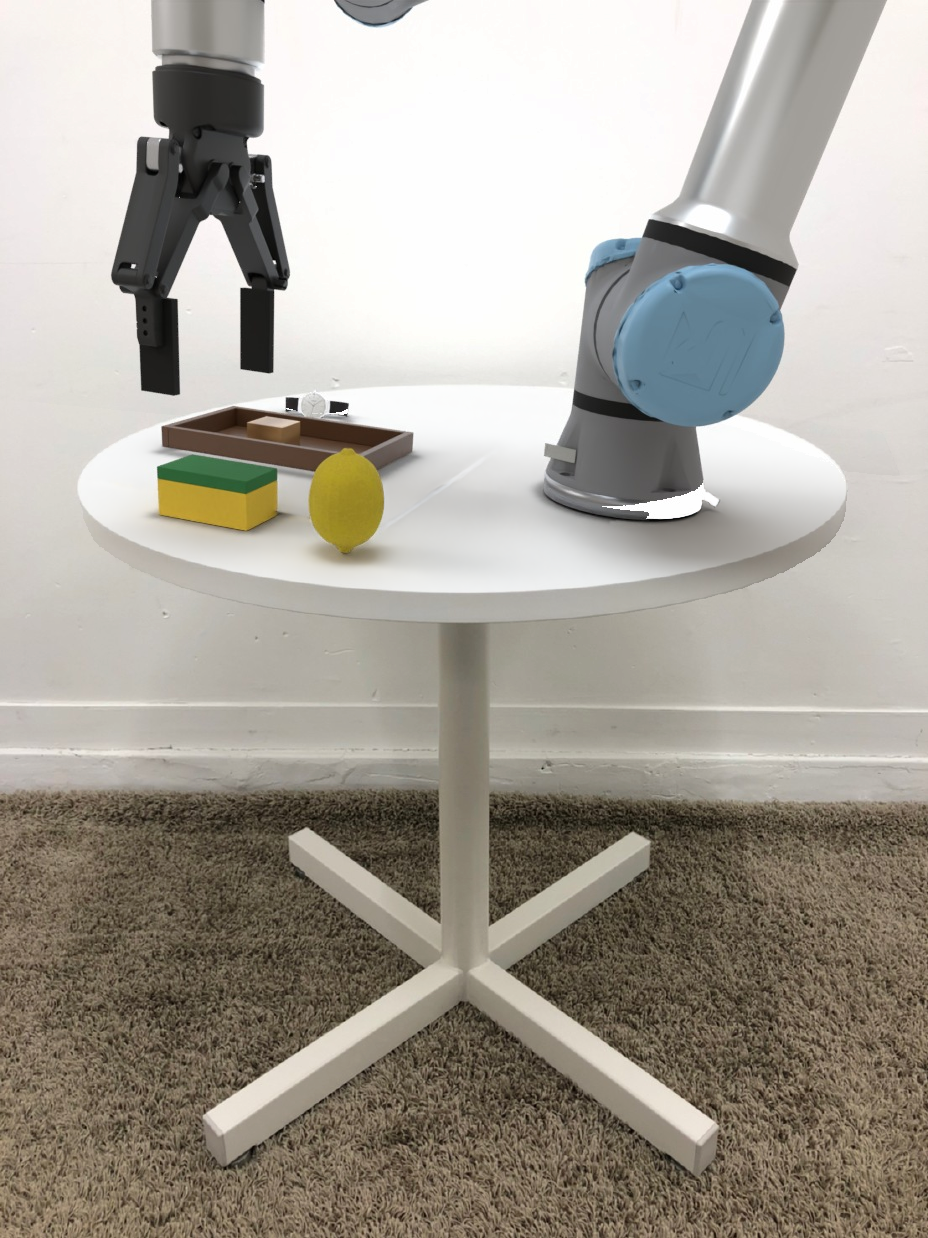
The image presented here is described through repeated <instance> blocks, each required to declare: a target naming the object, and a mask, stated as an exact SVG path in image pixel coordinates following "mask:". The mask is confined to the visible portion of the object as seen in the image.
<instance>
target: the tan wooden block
mask: <svg viewBox="0 0 928 1238" xmlns="http://www.w3.org/2000/svg"><path fill="white" fill-rule="evenodd" d="M247 438H252V439H259V440H265V441H271V442H278V443H284V444H290V445H297V446H298V445H300V421H295V420H288V419H281V418H274V417H268V416H266V417H263V418H260V419H257V420H253V421H250V422H247Z"/></svg>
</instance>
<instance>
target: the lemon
mask: <svg viewBox="0 0 928 1238" xmlns="http://www.w3.org/2000/svg"><path fill="white" fill-rule="evenodd" d="M308 492H309V493H308V512H309V517H310V521H311V523H312V527H314V529H315V531H316V533H317V534H318V535H319V537H321V538H322V539H323V540H324V541H326V542H327V543H329V544H331V545H333V546H335V547H336V548H337V549H338V550H339V552H341V553H343V554H348V553H350V552H351V551H352V550H353V549H354V548H356V547H357V546H359V545H362V544H364V543H366V542H368V541H369V540H370V539H371V538H372V537H373V536H375V534H376V533H377V530H378V529H379V526H380V524H381V522H382V519H383V515H384V510H385V492H384V487H383V482H382V478H381V476H380V474H379V471H378V470H376V468H375V467H374V465H373V464H372V463H371V462H370V461H369V460H367V459H366V458H365V457H363V456H361V455H359V454H357V453H355V451H354V450H353V449H351V448H344V449H343V450H342V451H341V452H340V453H336V454H334V455H331V456H330V457H328V458H327V459H325V460H324V461H323V462H322V463H321V464H320V465H319V466H318V468H317V469H316V471H315V472H313V476H312V479H311V482H310V487H309V491H308Z"/></svg>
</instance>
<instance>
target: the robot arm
mask: <svg viewBox="0 0 928 1238" xmlns="http://www.w3.org/2000/svg"><path fill="white" fill-rule="evenodd" d="M333 1H334V3H335V5H336V7H337V8H338V9H340V10H341V11H342V13H343V14H344V15H345V16H347V17H348V18H350V19H351V20H353V21H354V22H356V23H358V24H359V25H361V26H365V27H368V28H375V29H378V28H379V29H380V28H386V27H389V26H392V25H394V24H396V23H397V22H399V21H400V20H402V19H403V18H404V17H405V16H406V15H407V14H409V13H410V12H411V11H412V9H413V8H414V7H416V6H418V5H420V4H423V3H425V2H428V1H429V0H333ZM887 2H888V0H751V1H750V4H749V7H748V10H747V12H746V14H745V16H744V20H743V23H742V26H741V28H740V31H739V33H738V36H737V39H736V42H735V44H734V47H733V49H732V52H731V55H730V58H729V61H728V63H727V65H726V68H725V71H724V74H723V77H722V79H721V82H720V85H719V88H718V90H717V93H716V95H715V98H714V101H713V103H712V106H711V109H710V112H709V114H708V117H707V120H706V122H705V125H704V128H703V131H702V133H701V136H700V139H699V141H698V144H697V147H696V149H695V152H694V155H693V157H692V160H691V162H690V165H689V168H688V170H687V173H686V176H685V178H684V181H683V184H682V187H681V189H680V192H679V195H678V197H677V198H676V199H674V201H673V202H671V203H669V204H667V205H666V206H664V207H662V208H660V209H659V210H657V211H655V212H654V213H651V214H650V215H649V217H648V219H647V223H646V225H645V228H644V231H643V233H642V236H641V237H631V238H621V237H619V238H612V239H607V240H605V241H601V242H600V243H598V244H597V245H596V246H595V247H594V248H593V250H592V251H591V254H590V257H589V264H588V269H587V270H586V273H585V274H584V275H585V277H584V287H585V293H584V300H583V301H584V302H583V310H582V311H583V312H582V319H581V327H580V335H579V343H578V353H577V359H576V360H577V361H576V370H575V376H574V377H575V378H574V387H573V396H572V404H571V410H570V414H569V417H568V419H567V420H566V422H565V426H564V428H563V430H562V432H561V435H560V437H559V439H558V441H557V443H556V444H551V443H547V442H545V443H544V450H543V457H547V458H550V460H549V461H548V464H547V466H546V468H545V470H544V478H543V489H542V491H543V493H544V494H545V495H546V496H547V497H548V498H550V500H553V501H554V502H556V503H558V504H561V505H563V506H565V507H568V508H571V509H573V510H577V511H581V512H585V513H589V514H594V515H599V516H605V517H609V518H618V519H626V520H638V521H640V520H641V521H648V520H647V519H646V518H647V516H649V513H648V512H644V511H630V510H620V509H613V508H607V507H602V506H623V505H625V506H626V505H635V504H639V503H647V502H650V501H657V500H663V499H667V498H672V497H675V496H681V495H684V494H687V493H689V492H691V491H695V490H696V489H698V487H700V485H702V483H703V480H704V474H703V473H704V472H703V468H702V467H703V466H702V460H701V453H700V446H699V439H698V433H697V427H706V426H711V425H714V424H718V423H722V422H723V421H726V420H729V419H731V418H733V417H735V416H737V415H738V414H740V413H742V412H743V411H744V410H747V408H749V407H750V406H751V405H752V404H753V403H755V401H757V400H758V398H759V397H760V396H762V395H763V393H764V392H765V391H766V390H767V388H768V387H769V385H770V384H771V382H772V381H773V379H774V377H775V375H776V373H777V371H778V369H779V367H780V366H779V365H780V364H781V361H782V358H783V353H784V347H785V340H786V339H785V337H786V336H785V334H786V333H785V323H784V320H783V314H782V311H781V309H782V307H783V304H784V302H785V300H786V298H787V296H788V293H789V291H790V287H791V285H792V283H793V280H794V278H795V275H796V273H797V271H798V268H799V262H798V259H797V256H796V254H795V251H794V248H793V246H792V242H791V237H790V236H791V231H792V229H793V226H794V225H795V222H796V220H797V217H798V215H799V212H800V210H801V208H802V205H803V203H804V200H805V198H806V196H807V194H808V191H809V188H810V186H811V185H812V184H811V183H812V182H813V179H814V176H815V175H816V172H817V169H818V167H819V165H820V162H821V160H822V157H823V156H824V155H823V154H824V153H825V150H826V148H827V146H828V143H829V140H830V138H831V135H832V133H833V131H834V128H835V127H836V123H837V121H838V119H839V116H840V114H841V112H842V109H843V107H844V104H845V102H846V100H847V97H848V95H849V93H850V90H851V87H852V86H853V83H854V81H855V79H856V76H857V74H858V72H859V69H860V66H861V65H862V61H863V59H864V57H865V54H866V52H867V49H868V47H869V45H870V42H871V40H872V38H873V36H874V33H875V30H876V28H877V26H878V24H879V21H880V18H881V17H882V13H883V11H884V9H885V6H886V4H887ZM265 4H266V0H150V7H151V8H150V11H151V14H150V17H151V52H152V53H153V55H154V56H155V57H156V58H157V59H159V60H161V64H160V65H156V66H155V68H154V70H152V71H151V74H152V76H151V77H152V78H151V80H152V106H153V107H152V109H153V119H154V122H155V124H156V125H158V126H159V127H161V128H163V129H167V130H168V138H167V137H165V138H164V137H153V136H139V137H138V139H137V141H136V142H137V143H136V166H135V167H136V169H135V175H134V180H133V184H132V188H131V192H130V196H129V200H128V203H127V208H126V210H125V215H124V220H123V224H122V228H121V231H120V235H119V239H118V244H117V248H116V252H115V255H114V260H113V263H112V267H111V272H110V278H111V282H112V283H113V285H115V286H118V288H119V290H120V291H121V293H122V294H127V295H133V296H134V300H135V321H136V324H135V325H136V339H137V343H138V346H139V349H138V350H139V370H140V372H139V373H140V391H141V392H148V393H155V394H159V395H166V396H172V397H175V396H180V395H181V382H180V381H181V379H180V378H181V377H180V373H181V372H180V337H179V336H180V335H179V299H178V298H173V297H168V296H169V295H170V293H171V291H172V288H173V286H174V283H175V281H176V278H177V276H178V274H179V272H180V269H181V267H182V264H183V262H184V260H185V258H186V255H187V253H188V251H189V249H190V246H191V244H192V241H193V239H194V237H195V235H196V232H197V230H198V227H199V226H200V224H201V222H203V221H206V220H207V219H208V218H209V217H210V216H212V217H213V218H215V219H216V220H217V221H219V222H220V223H221V225H222V228H223V231H224V233H225V235H226V238H227V240H228V242H229V245H230V247H231V249H232V251H233V254H234V256H235V258H236V261H237V264H238V266H239V268H240V270H241V273H242V275H243V277H244V280H245V282H246V285H247V286H248V287H239V303H240V304H239V320H240V321H239V331H240V332H239V338H240V339H239V369H240V370H241V371H242V370H243V371H248V372H256V373H263V374H273V373H274V370H275V369H274V364H275V362H274V361H275V359H274V358H275V357H274V356H275V354H274V353H275V291H283V292H285V291H286V290H287V289H288V286H289V279H290V276H291V269H290V263H289V258H288V255H287V250H286V249H287V248H286V244H285V241H284V235H283V230H282V225H281V221H280V216H279V210H278V206H277V201H276V197H275V192H274V187H273V165H272V158H271V157H270V155H268V154H260V153H259V154H258V153H249V150H248V141H249V139H250V138H252V139H255V138H260V137H261V136H262V135H263V134H264V130H265V84H263V83H262V80H261V79H260V78H258V77H257V72H260V71H262V70H263V69H264V68H265V67H266V58H265V57H266V55H265V52H266V51H265V47H266V45H265V44H266V43H265V42H266V41H265V37H266V36H265ZM274 262H275V263H274ZM133 265H135V266H134V267H133Z"/></svg>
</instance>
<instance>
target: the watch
mask: <svg viewBox="0 0 928 1238" xmlns="http://www.w3.org/2000/svg"><path fill="white" fill-rule="evenodd" d="M349 407H350V403H349V402H344V401H336V400H330V399H327V398H326V397H325V396H324V395H322V394H321V393H320V392H317V389H313V391H311V392H308V393H306V394H305V395H304V396H302V397H301V396H300V397H295V396H294V397H293V396H291V397H290V396H288V397H286V396H285V412H292V411H291V410H287V409H286V408H289V409H293V410H296V411H295V412H298V411H301V412H300V413H301V414H302V416H305V417H312V418H319V419H323V418H324V417H325V416H326V415H327V416H330V414H325V413H336V412H342V411H344V410H346V409H348V410H349ZM302 412H303V413H302ZM312 413H318V414H312ZM320 413H322V414H320ZM323 414H324V415H323ZM348 415H349V412H348V413H347V414H344V415H339V416H340V417H341V416H342V417H345V418H348Z"/></svg>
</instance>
